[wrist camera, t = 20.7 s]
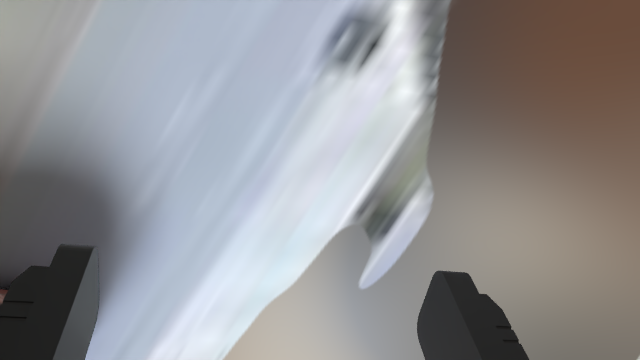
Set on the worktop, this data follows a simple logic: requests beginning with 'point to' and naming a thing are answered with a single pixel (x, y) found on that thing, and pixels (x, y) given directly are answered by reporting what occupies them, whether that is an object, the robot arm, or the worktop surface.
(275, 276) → the worktop surface
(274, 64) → the worktop surface
